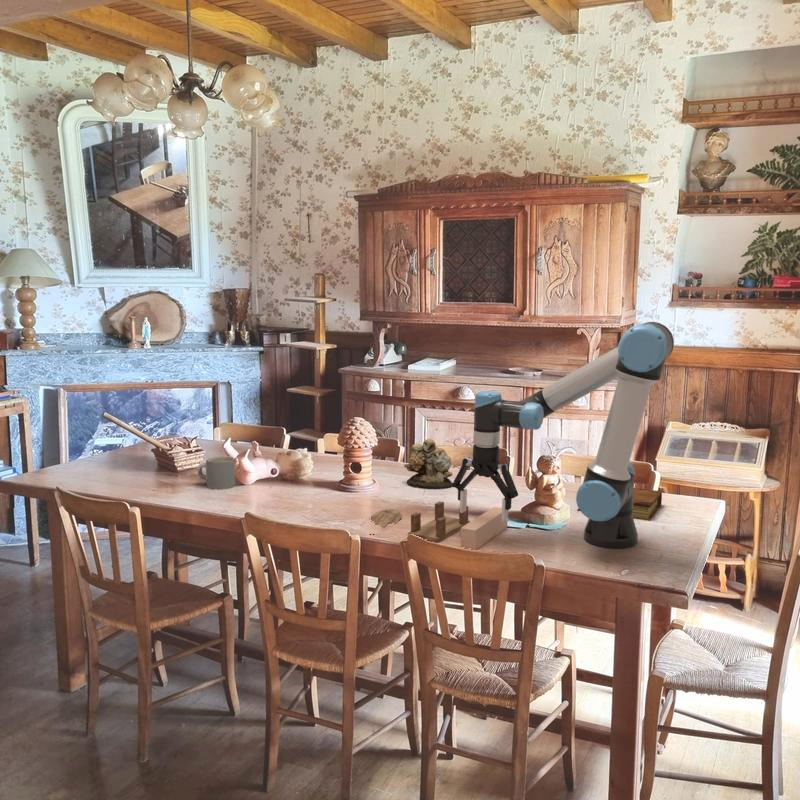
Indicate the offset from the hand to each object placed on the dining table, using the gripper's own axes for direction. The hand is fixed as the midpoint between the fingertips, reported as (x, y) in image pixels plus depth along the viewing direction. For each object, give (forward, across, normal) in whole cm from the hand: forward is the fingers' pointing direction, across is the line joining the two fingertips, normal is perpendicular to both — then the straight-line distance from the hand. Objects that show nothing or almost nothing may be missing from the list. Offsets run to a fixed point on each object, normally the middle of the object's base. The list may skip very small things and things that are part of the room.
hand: (483, 515), depth 244 cm
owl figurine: (+7, +43, -42) cm, 61 cm away
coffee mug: (+9, +107, 0) cm, 108 cm away
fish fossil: (+8, +33, +5) cm, 35 cm away
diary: (+6, -25, -50) cm, 56 cm away
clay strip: (+7, -1, 0) cm, 7 cm away
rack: (+7, +13, +2) cm, 15 cm away
